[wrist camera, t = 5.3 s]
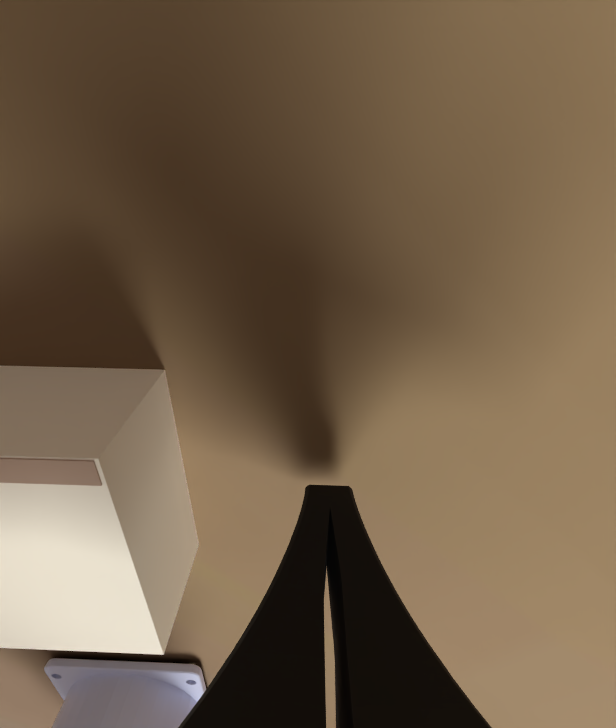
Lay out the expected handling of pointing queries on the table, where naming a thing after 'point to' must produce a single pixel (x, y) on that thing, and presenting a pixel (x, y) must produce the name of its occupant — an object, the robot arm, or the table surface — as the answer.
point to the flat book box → (91, 510)
